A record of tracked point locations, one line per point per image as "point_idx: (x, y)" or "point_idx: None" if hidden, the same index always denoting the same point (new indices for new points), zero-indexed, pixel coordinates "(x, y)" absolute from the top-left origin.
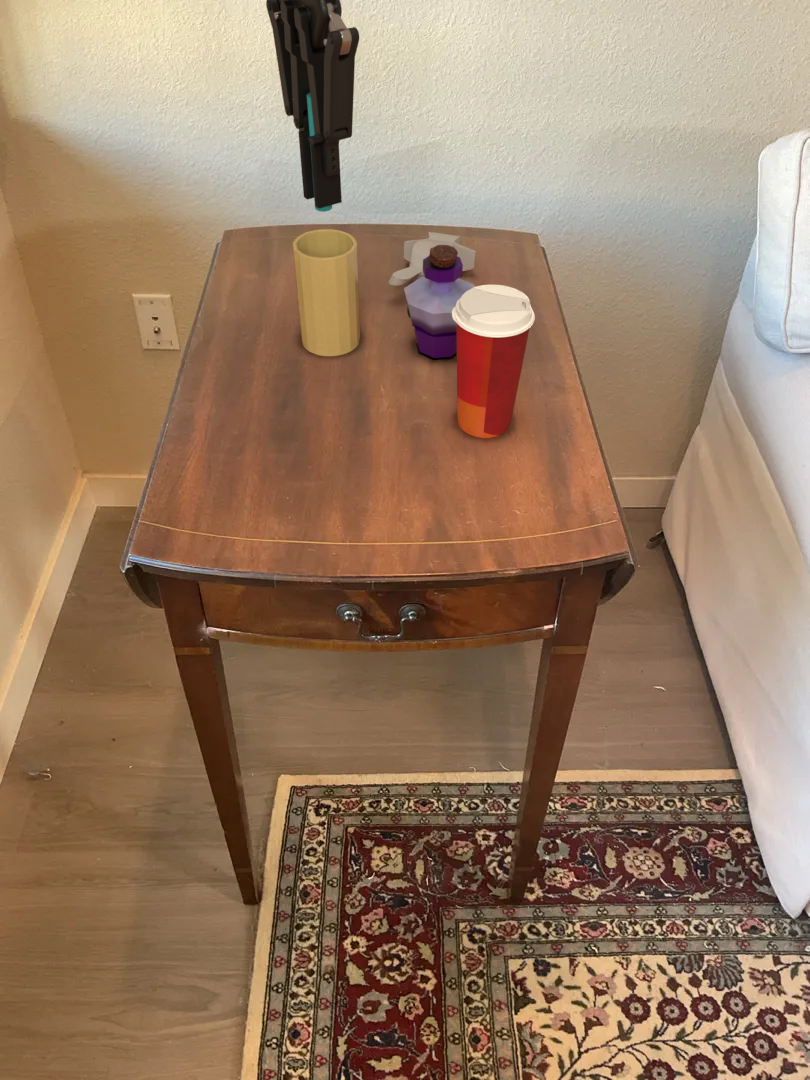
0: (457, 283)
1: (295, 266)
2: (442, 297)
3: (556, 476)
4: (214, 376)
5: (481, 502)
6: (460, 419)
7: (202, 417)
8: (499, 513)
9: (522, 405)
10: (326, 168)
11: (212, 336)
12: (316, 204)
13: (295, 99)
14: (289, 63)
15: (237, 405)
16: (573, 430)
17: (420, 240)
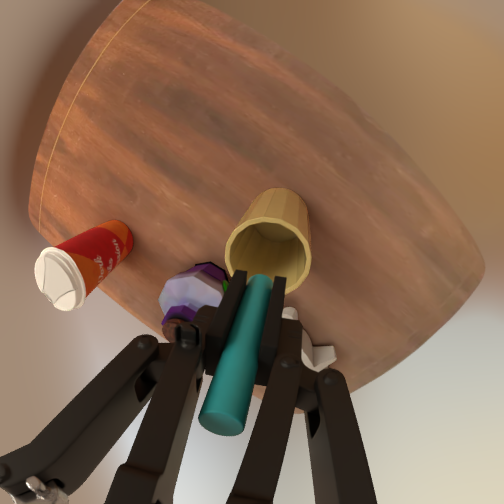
0: None
1: (283, 212)
2: (175, 301)
3: (66, 234)
4: (299, 91)
5: (66, 183)
6: (113, 222)
7: (247, 53)
8: (57, 186)
9: (121, 270)
10: (199, 313)
11: (364, 130)
12: (241, 272)
13: (278, 400)
14: (327, 472)
15: (243, 85)
16: None
17: (310, 363)
